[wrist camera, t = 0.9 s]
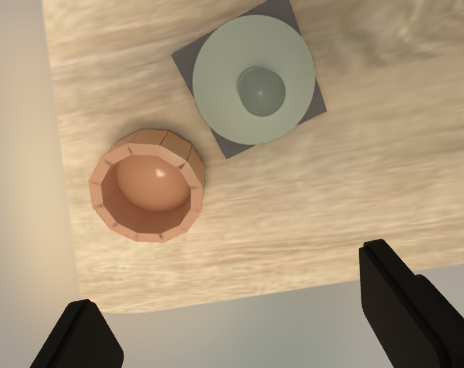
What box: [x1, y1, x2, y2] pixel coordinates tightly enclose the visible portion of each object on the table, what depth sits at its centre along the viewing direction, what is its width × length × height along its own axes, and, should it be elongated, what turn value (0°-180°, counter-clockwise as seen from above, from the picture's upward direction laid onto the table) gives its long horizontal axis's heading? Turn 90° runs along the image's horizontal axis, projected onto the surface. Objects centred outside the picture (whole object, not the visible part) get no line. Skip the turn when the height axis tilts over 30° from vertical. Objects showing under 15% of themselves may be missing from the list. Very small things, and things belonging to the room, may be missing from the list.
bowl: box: [89, 129, 205, 242], centre depth 29 cm, size 10×10×5 cm
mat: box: [172, 0, 327, 159], centre depth 27 cm, size 11×11×1 cm
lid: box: [192, 15, 315, 145], centre depth 24 cm, size 11×11×7 cm
